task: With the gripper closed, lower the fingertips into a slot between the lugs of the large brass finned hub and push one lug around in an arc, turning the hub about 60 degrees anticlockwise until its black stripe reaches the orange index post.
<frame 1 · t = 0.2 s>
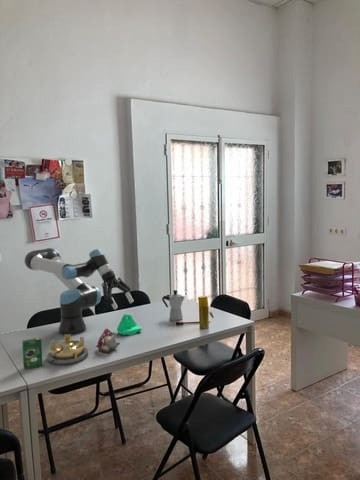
hand: (124, 305, 220), 15 cm above the table, tool tilted 35°, fingers open, 13 cm apart
index base: (68, 357, 188), on the table
camera mount: (129, 333, 221), on the table
brake caliper: (107, 350, 196), on the table
coffee maker: (174, 318, 244), on the table
coffee box: (33, 367, 179), on the table
brass finned hub: (67, 346, 188), point 6 cm above the table, hinge at 0.0°
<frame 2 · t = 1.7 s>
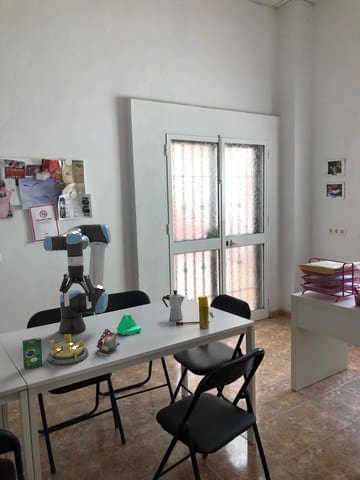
hand: (77, 307, 193), 23 cm above the table, tool pointing down, fingers open, 13 cm apart
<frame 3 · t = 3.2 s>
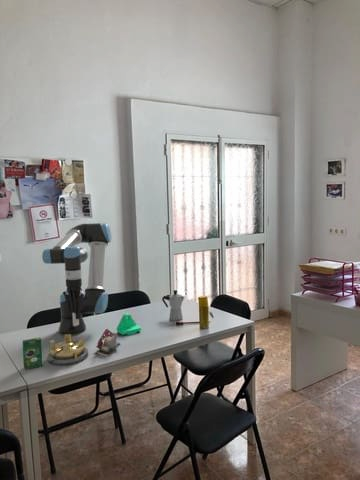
hand: (76, 325, 193), 14 cm above the table, tool pointing down, fingers closed
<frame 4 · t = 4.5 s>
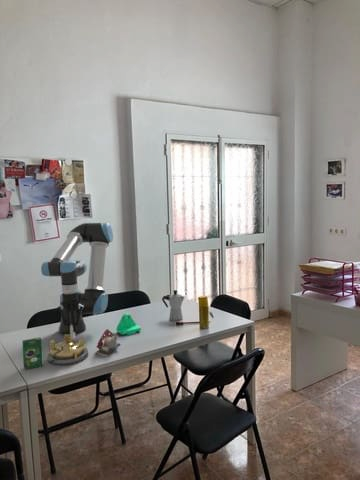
hand: (72, 338, 195), 7 cm above the table, tool pointing down, fingers closed
brass finned hub: (67, 346, 188), point 6 cm above the table, hinge at 0.0°, touching gripper
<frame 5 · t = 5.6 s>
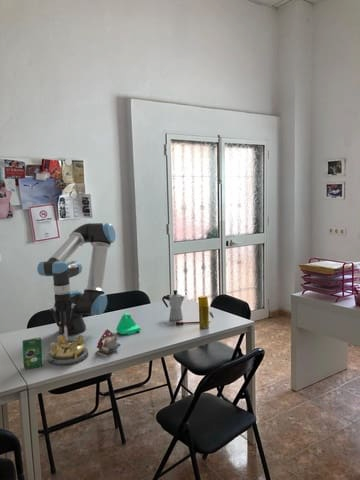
hand: (65, 338, 194), 7 cm above the table, tool pointing down, fingers closed
brass finned hub: (67, 346, 188), point 6 cm above the table, hinge at 27.2°, touching gripper
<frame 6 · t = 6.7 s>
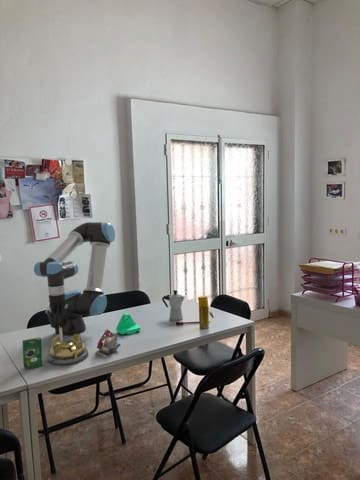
hand: (60, 340, 193), 7 cm above the table, tool pointing down, fingers closed
brass finned hub: (67, 346, 188), point 6 cm above the table, hinge at 51.8°, touching gripper
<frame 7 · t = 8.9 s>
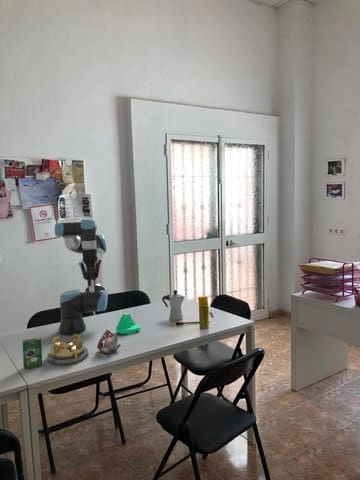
hand: (91, 291, 209), 26 cm above the table, tool pointing down, fingers closed
brass finned hub: (67, 346, 188), point 6 cm above the table, hinge at 52.7°
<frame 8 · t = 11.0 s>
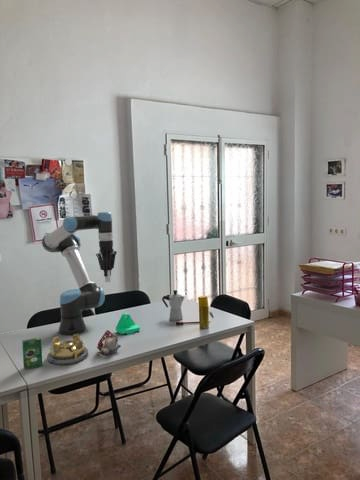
hand: (107, 281, 218), 29 cm above the table, tool pointing down, fingers closed
at the end: brass finned hub at +53° (first picture: +0°); coffee box moved 0.2 cm from its start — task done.
